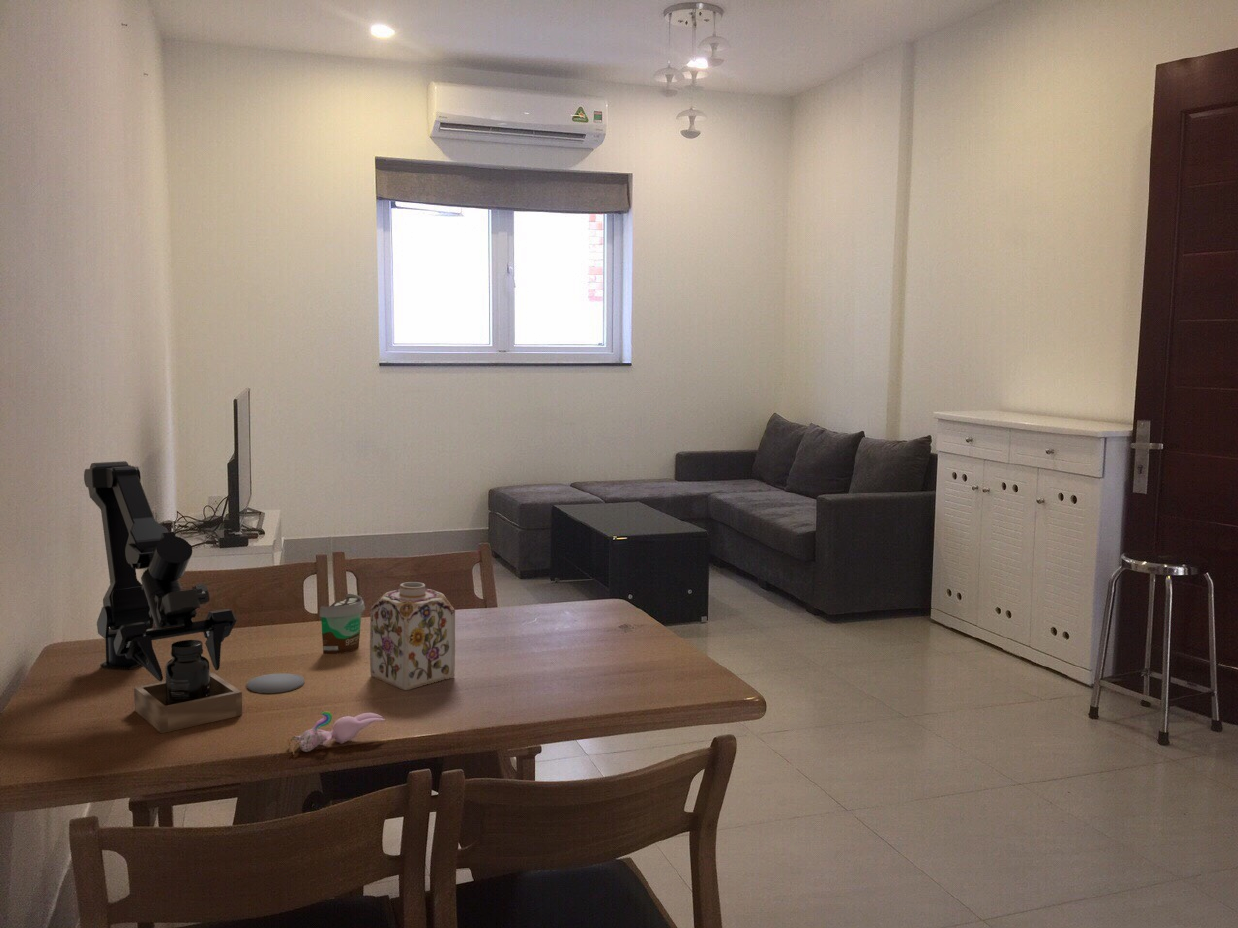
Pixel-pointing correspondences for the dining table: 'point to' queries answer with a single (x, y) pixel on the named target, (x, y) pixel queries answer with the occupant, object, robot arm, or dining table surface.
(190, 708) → the walnut box
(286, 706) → the dining table surface
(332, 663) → the dining table surface
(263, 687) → the coaster
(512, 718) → the dining table surface
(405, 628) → the decorative jar
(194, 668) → the supplement bottle
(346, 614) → the food container
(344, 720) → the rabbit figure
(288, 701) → the dining table surface
